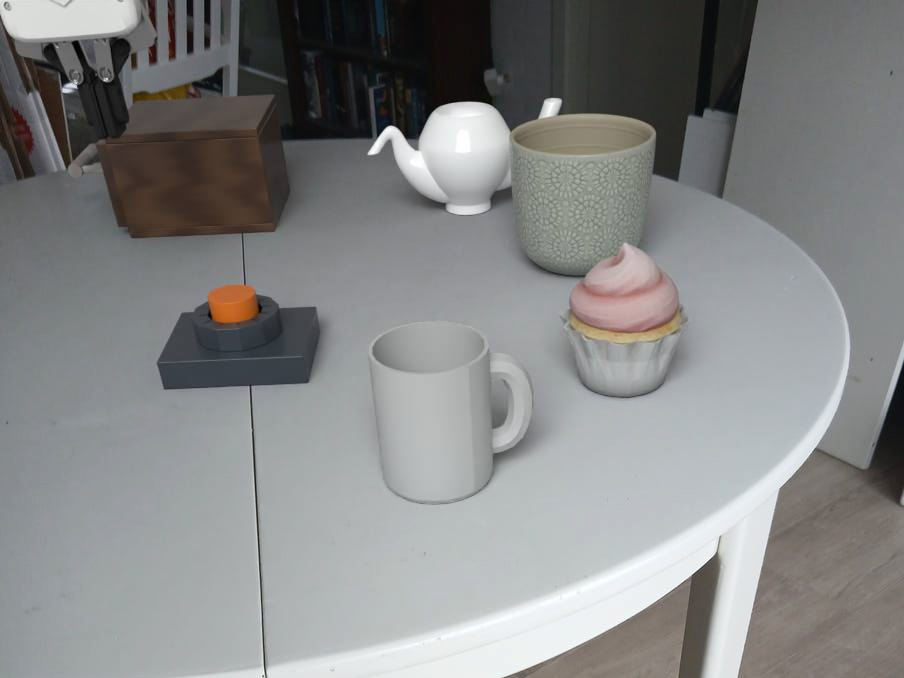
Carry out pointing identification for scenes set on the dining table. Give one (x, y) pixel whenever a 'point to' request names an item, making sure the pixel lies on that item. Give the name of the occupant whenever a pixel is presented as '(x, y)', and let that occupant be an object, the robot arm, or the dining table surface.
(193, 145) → the cabinet
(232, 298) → the button
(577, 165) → the planter
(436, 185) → the teapot
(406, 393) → the cup
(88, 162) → the drawer
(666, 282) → the cupcake
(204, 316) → the control block
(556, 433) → the dining table surface
